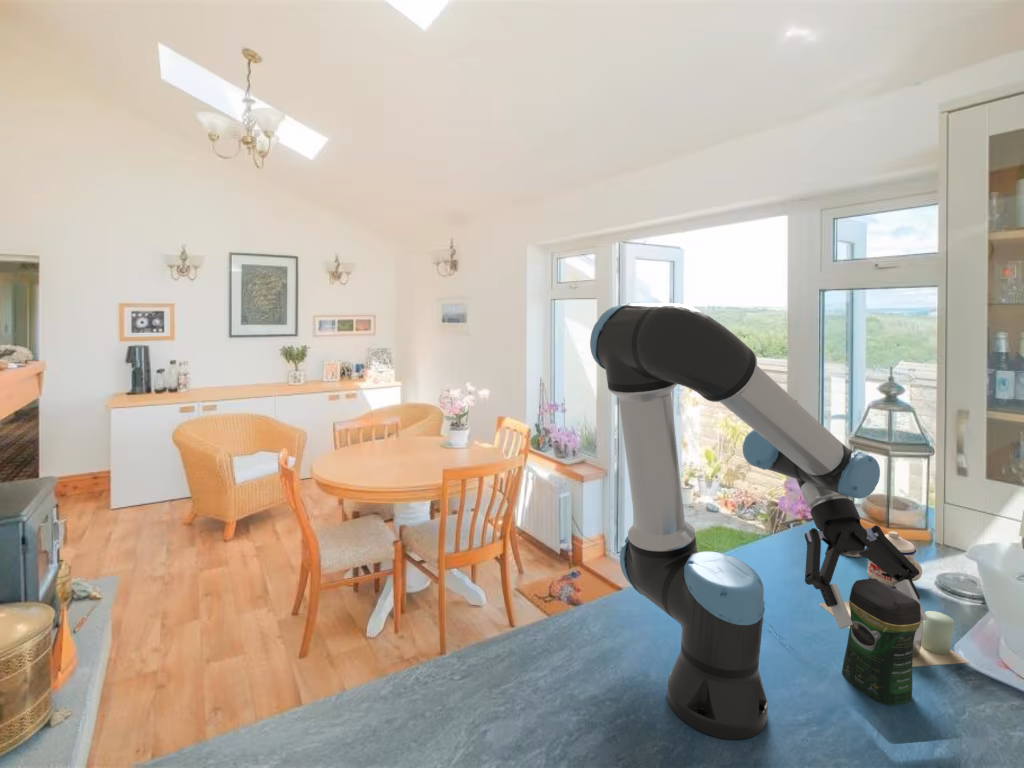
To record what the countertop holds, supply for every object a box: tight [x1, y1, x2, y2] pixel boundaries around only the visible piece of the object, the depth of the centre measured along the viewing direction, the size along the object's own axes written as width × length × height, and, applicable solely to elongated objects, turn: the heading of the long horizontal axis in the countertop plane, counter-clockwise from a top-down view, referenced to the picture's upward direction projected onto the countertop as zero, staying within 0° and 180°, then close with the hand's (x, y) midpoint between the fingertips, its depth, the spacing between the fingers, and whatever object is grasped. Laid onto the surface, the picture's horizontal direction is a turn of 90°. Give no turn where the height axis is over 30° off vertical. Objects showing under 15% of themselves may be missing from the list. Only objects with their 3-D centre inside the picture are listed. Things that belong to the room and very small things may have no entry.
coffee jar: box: [841, 578, 921, 706], centre depth 91 cm, size 10×8×19 cm
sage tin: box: [921, 610, 955, 655], centre depth 102 cm, size 4×4×6 cm
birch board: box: [818, 601, 970, 668], centre depth 108 cm, size 14×21×2 cm, turn 7°
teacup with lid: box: [867, 531, 923, 588], centre depth 129 cm, size 12×9×12 cm
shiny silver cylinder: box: [913, 621, 924, 657], centre depth 101 cm, size 4×4×6 cm
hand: (883, 624), depth 92 cm, fingers open, 13 cm apart
